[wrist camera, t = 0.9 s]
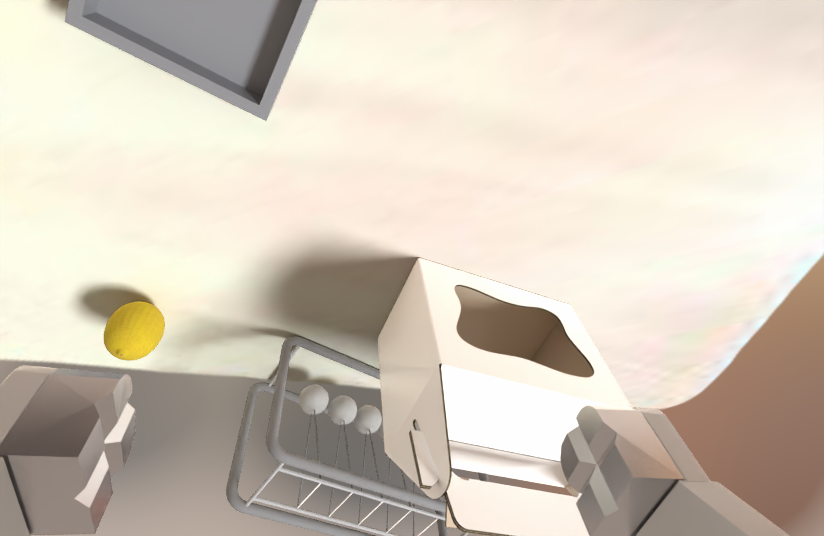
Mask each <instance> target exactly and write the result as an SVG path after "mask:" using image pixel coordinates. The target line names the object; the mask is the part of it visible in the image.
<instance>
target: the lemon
mask: <svg viewBox="0 0 824 536" xmlns="http://www.w3.org/2000/svg"><path fill="white" fill-rule="evenodd" d="M164 327H165V322H164V317H163V315H162V313H161V312H160V311H159V309H158V308H157V307H155V306H154V305H152V304H150V303H147V302H140V301H137V302H131V303H128V304H125V305H123V306H122V307H120V308H119V309H117V310H116V311H115V312H114V313H113V315H112V316H111V317H110V319H109V320H108V322H107V324H106V328H105V331H104V344H105V346H106V348H107V350H108V351H109V352H110V353H111V354H112V355H113V356H115V357H117V358H119V359H122V360H137V359H140V358H142V357H145V356H146V355H148V354H149V353H150V352H151V351H152V350H154V349H155V347H156V346H157V345H158V343H159V342H160V340H161V338H162V336H163V333H164Z"/></svg>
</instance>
